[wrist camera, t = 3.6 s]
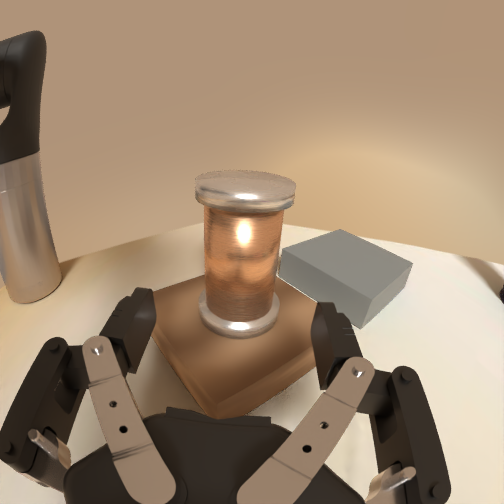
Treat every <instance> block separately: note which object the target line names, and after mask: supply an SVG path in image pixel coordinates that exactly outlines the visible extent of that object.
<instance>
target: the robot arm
mask: <svg viewBox="0 0 504 504" xmlns="http://www.w3.org/2000/svg"><path fill="white" fill-rule="evenodd" d="M45 63H46V40H45V37H44V35H43V33H42V32H40V31H31V32H26V33H23V34H20V35H17V36H14V37H11V38H8V39H6V40H3V41H0V109H2V108H5V107H8V106H10V109H9V113H8V115H7V117H6V119H5V120H4V121H3V123H2V124H1V125H0V272H1V275H2V278H3V281H4V283H5V286H6V288H7V291H8V293H9V296H10V298H11V299H12V300H13V301H14V302H17V303H30V302H34V301H37V300H39V299H42V298H43V297H45V296H47V295H48V294H50V293H51V292H52V291H53V290H55V289H56V288H57V286H58V285H59V284H60V282H61V279H62V273H61V270H60V266H59V262H58V259H57V255H56V251H55V247H54V243H53V239H52V234H51V230H50V225H49V219H48V215H47V209H46V203H45V196H44V189H43V182H42V174H41V164H40V152H39V150H40V148H39V130H40V129H39V128H40V102H41V91H42V84H43V77H44V70H45ZM156 318H157V314H156V308H155V302H154V297H153V291H152V289H147V288H139V287H137V288H136V289H135V290H134V292H133V294H132V295H131V297H130V296H126V297H125V298H123V299H122V300H121V301H120V302H119V303H118V304H117V306H116V308H115V310H114V311H113V312H112V314H111V316H110V317H109V319H108V321H107V322H106V324H105V326H104V327H103V329H102V331H101V332H100V334H99V336H94V337H91V338H89V339H88V340H87V341H86V342H85V343H84V344H83V345H79V346H68V344H67V342H66V341H65V340H64V339H63V338H61V337H54V338H51V339H49V340H48V341H47V342H46V343H45V344H44V345H43V347H42V349H41V350H40V352H39V354H38V355H37V357H36V359H35V361H34V362H33V364H32V366H31V368H30V370H29V371H28V373H27V375H26V377H25V379H24V381H23V383H22V385H21V387H20V389H19V391H18V393H17V395H16V397H15V399H14V401H13V403H12V405H11V407H10V410H9V412H8V414H7V416H6V419H5V421H4V423H3V426H2V428H1V431H0V459H1V460H2V461H3V462H5V463H6V464H8V465H9V466H10V467H12V468H13V469H14V470H15V471H17V472H18V473H20V474H22V475H23V476H25V477H26V478H28V479H30V480H32V481H34V482H36V483H38V484H40V485H42V486H44V487H51V488H53V489H55V490H58V491H60V492H62V493H64V497H65V500H66V504H445V503H446V502H447V500H448V499H449V497H450V494H451V484H450V479H449V475H448V470H447V466H446V462H445V458H444V454H443V450H442V446H441V442H440V439H439V435H438V432H437V429H436V425H435V422H434V419H433V416H432V413H431V410H430V407H429V404H428V401H427V398H426V395H425V392H424V389H423V387H422V384H421V381H420V379H419V376H418V374H417V373H416V372H415V371H414V370H413V369H412V368H410V367H407V366H399V367H397V368H395V369H394V370H393V372H392V373H390V372H385V371H380V370H376V369H374V367H373V365H372V363H371V362H370V361H368V360H367V359H365V358H363V356H362V353H361V350H360V347H359V344H358V342H357V339H356V336H355V335H354V334H355V333H354V331H353V329H352V325H351V323H350V320H349V319H348V318H347V316H346V315H345V314H344V313H337V310H336V307H335V304H334V303H333V302H318V303H317V305H316V309H315V313H314V317H313V320H312V324H311V331H310V334H311V341H312V346H313V352H314V357H315V362H316V368H317V373H318V379H319V384H320V390H326V392H323V394H322V395H321V396H320V397H319V399H318V400H317V402H316V403H315V404H314V406H313V407H312V408H311V410H310V411H309V412H308V414H307V415H306V416H305V417H304V419H303V420H302V421H301V422H300V424H299V425H298V426H297V427H296V429H295V430H294V431H293V432H291V431H289V430H287V429H286V428H283V427H281V426H279V425H276V424H272V423H271V417H262V416H240V417H233V418H226V419H214V418H211V417H208V416H205V415H203V414H200V413H197V412H194V411H191V410H184V409H178V408H172V407H167V409H166V413H161V414H156V415H152V416H149V417H146V418H143V416H142V414H141V412H140V410H139V408H138V406H137V403H136V401H135V399H134V397H133V395H132V392H131V390H130V388H129V385H128V383H127V381H126V378H125V377H126V375H127V373H128V372H129V373H133V374H136V371H137V369H138V366H139V364H140V361H141V358H142V356H143V353H144V351H145V348H146V346H147V344H148V341H149V339H150V336H151V334H152V331H153V329H154V327H155V324H156ZM58 382H59V383H58ZM86 389H89V391H90V394H91V397H92V401H93V404H94V407H95V410H96V413H97V416H98V419H99V422H100V425H101V428H102V430H103V433H104V436H105V438H106V441H107V444H105V445H103V446H102V447H100V448H99V449H97V450H96V451H94V452H92V453H91V454H89V455H88V456H86V457H84V458H83V459H81V460H79V461H78V462H76V463H74V464H73V465H72V466H71V454H70V450H69V448H68V447H67V442H68V439H69V436H70V433H71V430H72V427H73V424H74V421H75V418H76V415H77V412H78V410H79V407H80V404H81V402H82V399H83V396H84V394H85V391H86ZM356 412H359V413H365V414H369V418H370V423H371V429H372V434H373V440H374V446H375V452H376V459H377V466H378V473H379V474H378V475H377V476H375V477H374V478H373V479H372V481H371V483H370V486H369V494H368V496H367V498H366V499H365V500H364V499H363V498H362V497H361V496H360V495H359V494H358V493H357V492H356V491H355V490H354V489H352V488H351V487H350V486H349V485H348V484H347V483H346V482H344V481H343V480H342V479H341V478H340V477H339V476H338V475H337V474H335V473H334V472H333V471H332V470H331V469H330V468H329V467H328V466H327V465H326V464H325V463H324V462H325V461H326V459H327V458H328V456H329V455H330V453H331V452H332V450H333V449H334V447H335V446H336V444H337V443H338V441H339V440H340V438H341V436H342V435H343V433H344V432H345V430H346V428H347V427H348V425H349V423H350V422H351V420H352V418H353V416H354V415H355V413H356Z"/></svg>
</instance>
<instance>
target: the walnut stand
mask: <svg viewBox="0 0 504 504" xmlns="http://www.w3.org/2000/svg"><path fill="white" fill-rule="evenodd" d="M204 289H205V275H202V276H199V277H196V278H193V279H190V280H187V281H184V282H181V283H178V284H175V285H172V286H169V287H166V288H163V289H160V290H157V291H154V292H153V297H154V302H155V308H156V314H157V318H156V324H155V327H154V329H153V331H152V334H151V336H152V338H153V339H154V341H155V342H156V344H157V346H158V347H159V349H160V350H161V352H162V353H163V355H164V356H165V358H166V359H167V361H168V362H169V364H170V365H171V367H172V368H173V370H174V371H175V373H176V374H177V376H178V377H179V378H180V380H181V381H182V383H183V384H184V385H185V387H186V388H187V389H188V391H189V392H190V394H191V395H192V396H193V398H194V399H195V400H196V402H197V403H198V404H199V405H200V407H201V408H202V409H203V411H204V412H205V413H206V414H207V416H208V417H211V418H214V419H226V418H233V417H240V416H244V415H245V414H247V413H248V412H250V411H252V410H253V409H255V408H257V407H258V406H260V405H261V404H263V403H264V402H266V401H267V400H269V399H270V398H272V397H274V396H275V395H276V394H278V393H279V392H281V391H282V390H284V389H285V388H287V387H288V386H290V385H291V384H292V383H294V382H295V381H297V380H298V379H299V378H301V377H302V376H303V375H305V374H306V373H308V372H309V371H310V370H312V369H313V368H314V367H315V366H316V362H315V357H314V352H313V346H312V341H311V334H310V331H311V324H312V320H313V317H314V313H315V309H316V305H317V303H316V302H315V301H313V300H312V299H310V298H309V297H307V296H305V295H304V294H302V293H301V292H299V291H298V290H296V289H295V288H293V287H292V286H290V285H289V284H287V283H286V282H284V281H283V280H281V279H280V278H278V277H277V276H276V280H275V287H274V292H275V293H276V295H277V296H278V298H279V304H280V305H279V312H278V318H277V321H276V323H275V325H274V326H273V328H272V329H271V330H269V331H268V332H266V333H265V334H263V335H261V336H258V337H255V338H250V339H231V338H226V337H222V336H220V335H217V334H215V333H213V332H212V331H210V330H209V329H208V328H207V327H205V325H204V324H203V323H202V321H201V319H200V315H199V296H200V294H201V292H202V291H203V290H204Z"/></svg>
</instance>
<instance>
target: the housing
mask: <svg viewBox="0 0 504 504" xmlns="http://www.w3.org/2000/svg"><path fill="white" fill-rule="evenodd" d="M295 189H296V183H295V182H294V181H292V180H291V179H289V178H286V177H283V176H280V175H275V174H271V173H265V172H258V171H245V170H224V171H214V172H209V173H205V174H201V175H199V176H197V177H196V179H195V198H196V200H197V201H198V202H199V203H201V204H203V205H204V252H205V289H204V290H203V291H202V292H201V294H200V296H199V315H200V319H201V321H202V323H203V324H204V325H205V327H207V328H208V329H209V330H210V331H212V332H213V333H215V334H217V335H220V336H222V337H226V338H231V339H250V338H255V337H258V336H261V335H263V334H265V333H266V332H268V331H269V330H271V329H272V328H273V326H274V325H275V323H276V321H277V318H278V312H279V305H280V304H279V298H278V296H277V295H276V293H275V292H274V287H275V280H276V272H277V264H278V256H279V248H280V240H281V231H282V223H283V214H284V209H287V208H289V207H291V206H292V205H293V204H294V197H295Z"/></svg>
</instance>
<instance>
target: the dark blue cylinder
mask: <svg viewBox="0 0 504 504" xmlns="http://www.w3.org/2000/svg"><path fill="white" fill-rule="evenodd" d="M500 298H501V300H502V302H503V303H504V285H503V289H502V290H501V291H500Z"/></svg>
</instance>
